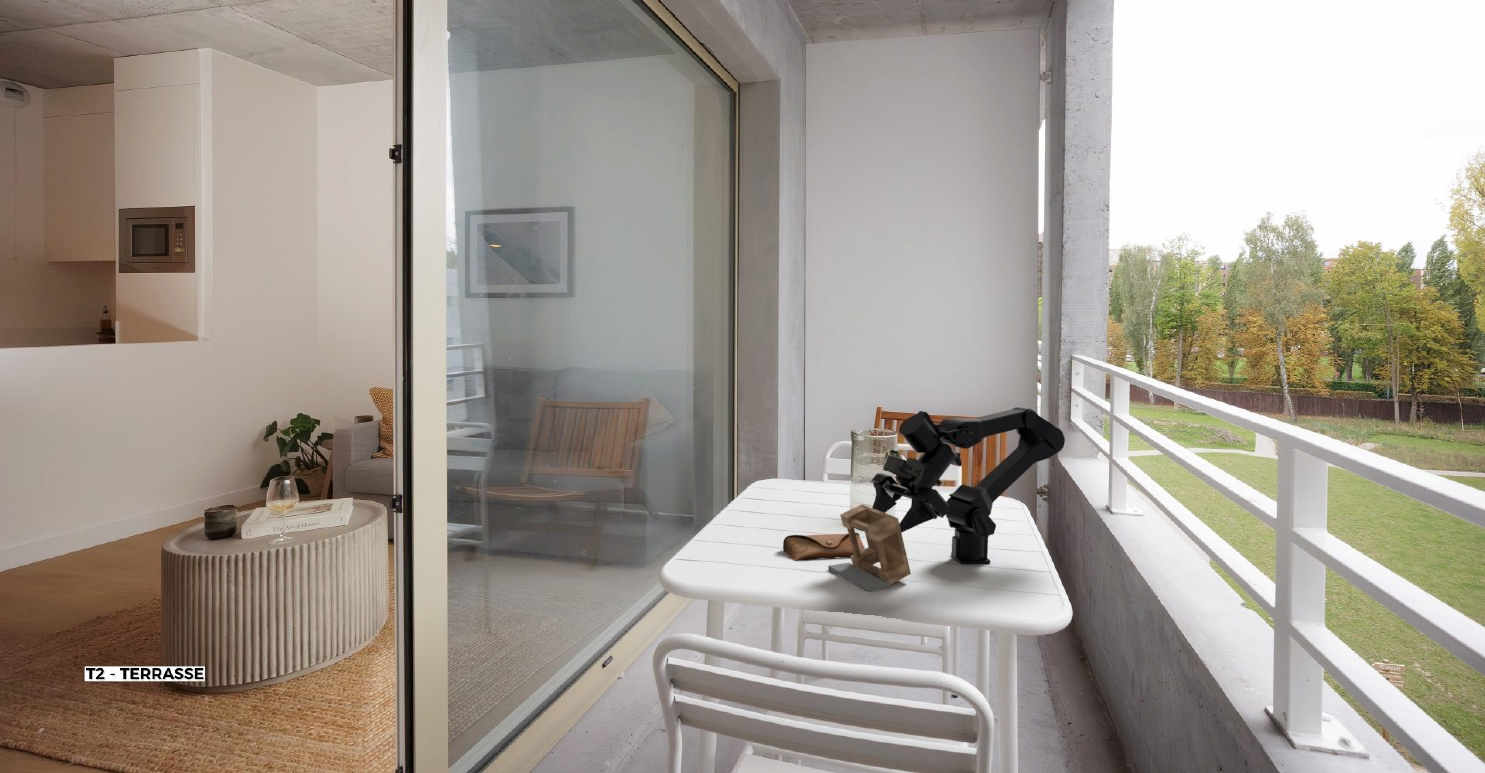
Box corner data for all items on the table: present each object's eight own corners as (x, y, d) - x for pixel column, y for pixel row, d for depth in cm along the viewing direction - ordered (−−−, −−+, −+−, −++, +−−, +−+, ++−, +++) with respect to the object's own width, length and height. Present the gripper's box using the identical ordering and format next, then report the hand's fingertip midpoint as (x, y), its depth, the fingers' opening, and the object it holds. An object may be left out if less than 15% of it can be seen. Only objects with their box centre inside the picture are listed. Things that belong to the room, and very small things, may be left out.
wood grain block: (874, 556, 162) (862, 504, 160) (910, 573, 151) (898, 518, 149) (853, 567, 160) (840, 514, 157) (888, 585, 149) (875, 529, 147)
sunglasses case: (793, 561, 163) (789, 530, 166) (785, 568, 169) (781, 538, 172) (873, 556, 167) (868, 526, 170) (862, 563, 173) (857, 534, 176)
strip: (848, 566, 161) (848, 562, 161) (889, 587, 148) (890, 583, 148) (828, 569, 158) (828, 565, 158) (868, 591, 146) (868, 587, 146)
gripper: (880, 435, 164) (834, 490, 160) (939, 448, 148) (889, 511, 144) (909, 469, 168) (865, 524, 164) (969, 486, 152) (922, 548, 148)
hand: (883, 525), depth 155 cm, fingers open, 9 cm apart
